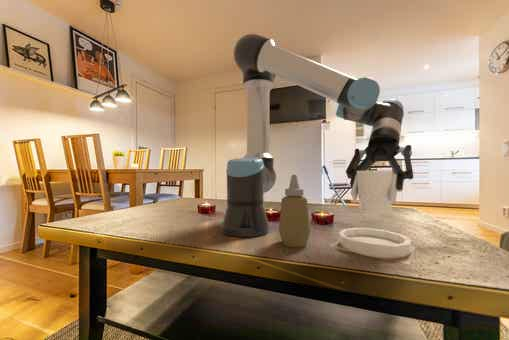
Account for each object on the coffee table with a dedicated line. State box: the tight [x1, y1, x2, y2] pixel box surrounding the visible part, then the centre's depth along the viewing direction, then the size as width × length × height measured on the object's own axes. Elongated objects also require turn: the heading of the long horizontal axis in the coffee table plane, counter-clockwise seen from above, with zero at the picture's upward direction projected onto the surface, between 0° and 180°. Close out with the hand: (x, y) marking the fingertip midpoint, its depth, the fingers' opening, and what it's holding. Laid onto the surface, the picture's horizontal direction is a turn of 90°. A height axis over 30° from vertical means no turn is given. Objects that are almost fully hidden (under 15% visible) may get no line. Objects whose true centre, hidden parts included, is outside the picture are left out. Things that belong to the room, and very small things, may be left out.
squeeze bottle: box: [278, 174, 311, 248], centre depth 57 cm, size 8×8×18 cm
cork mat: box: [329, 239, 417, 266], centre depth 54 cm, size 16×14×1 cm
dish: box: [338, 227, 412, 259], centre depth 54 cm, size 15×15×3 cm
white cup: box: [357, 169, 394, 215], centre depth 54 cm, size 8×8×10 cm
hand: (372, 197), depth 52 cm, fingers closed on white cup, 8 cm apart
